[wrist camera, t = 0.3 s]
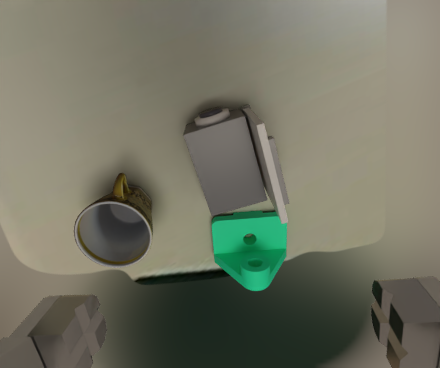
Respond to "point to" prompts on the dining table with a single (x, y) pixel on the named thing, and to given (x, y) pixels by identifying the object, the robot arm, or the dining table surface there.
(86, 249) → the ceramic cup
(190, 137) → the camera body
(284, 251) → the camera mount
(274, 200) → the side door
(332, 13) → the dining table surface
